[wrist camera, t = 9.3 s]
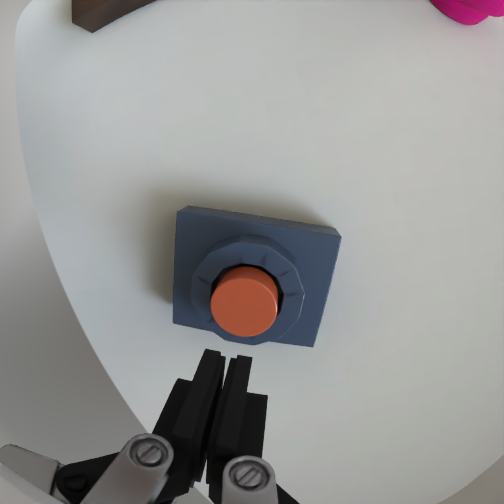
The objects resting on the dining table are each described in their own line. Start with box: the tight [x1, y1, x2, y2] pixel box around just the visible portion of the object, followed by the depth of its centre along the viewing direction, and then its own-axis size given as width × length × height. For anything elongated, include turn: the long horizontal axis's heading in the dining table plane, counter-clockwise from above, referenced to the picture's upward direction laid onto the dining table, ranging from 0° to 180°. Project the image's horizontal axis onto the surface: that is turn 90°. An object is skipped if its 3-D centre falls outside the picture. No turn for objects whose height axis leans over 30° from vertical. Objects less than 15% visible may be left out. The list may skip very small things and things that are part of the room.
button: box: [210, 267, 278, 337], centre depth 16 cm, size 4×4×2 cm
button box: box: [173, 206, 341, 347], centre depth 19 cm, size 10×8×4 cm
